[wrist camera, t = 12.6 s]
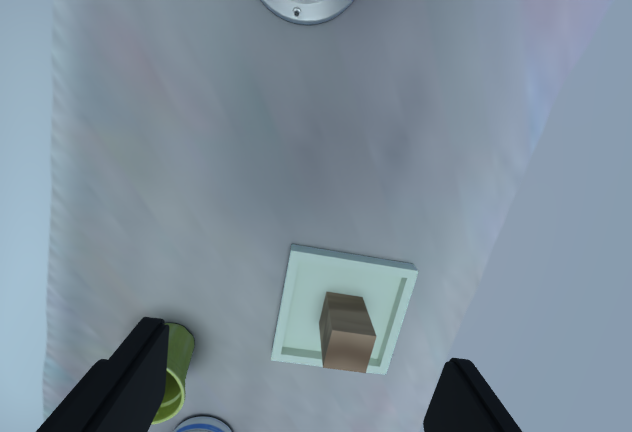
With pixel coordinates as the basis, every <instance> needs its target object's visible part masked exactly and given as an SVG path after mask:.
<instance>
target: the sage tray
mask: <svg viewBox="0 0 632 432" xmlns="http://www.w3.org/2000/svg"><path fill="white" fill-rule="evenodd" d="M418 272H419V271H418V270H417V268H416V267H415V266H414V265H413V264H410V263H404V262H398V261H392V260H386V259H380V258H374V257H368V256H361V255H355V254H349V253H343V252H337V251H331V250H325V249H319V248H313V247H307V246H300V245H294V244H292V245H291V250H290V255H289V261H288V266H287V272H286V277H285V282H284V288H283V293H282V299H281V304H280V310H279V315H278V320H277V326H276V331H275V337H274V342H273V347H272V354H271V360H272V361H280V362H288V363H296V364H304V365H312V366H320V367H323V363H322V352H321V341H320V330H319V321H320V317H321V312H322V308H323V304H324V299H325V295H326V291H327V292H333V293H340V294H346V295H353V296H359V297H363V300H364V302H365V305H366V308H367V311H368V314H369V316H370V319H371V322H372V325H373V328H374V330H375V333H376V336H377V337H376V340H375V344H374V347H373V350H372V354H371V357H370V360H369V364H368V367H367V370H366V372H368V373H376V374H384V375H386V373H387V370H388V367H389V364H390V360H391V357H392V354H393V351H394V348H395V345H396V341H397V338H398V335H399V332H400V329H401V326H402V322H403V319H404V316H405V313H406V310H407V307H408V304H409V300H410V297H411V294H412V291H413V288H414V285H415V281H416V278H417V275H418Z"/></svg>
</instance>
